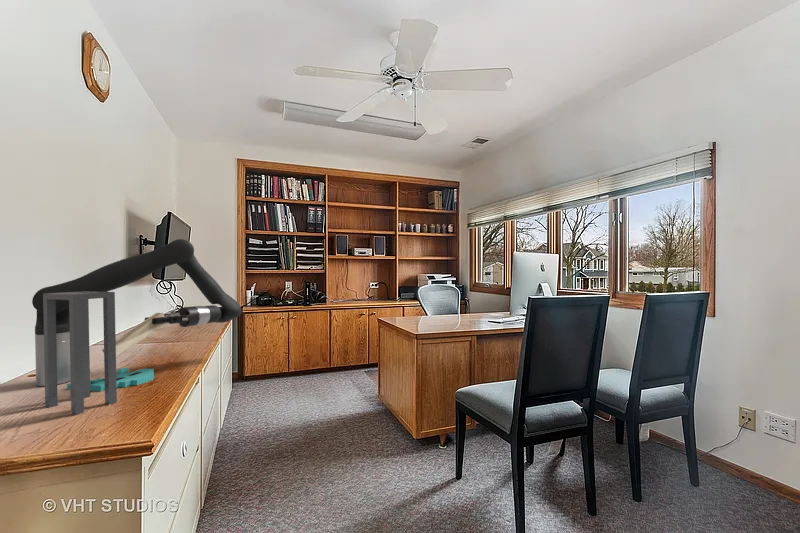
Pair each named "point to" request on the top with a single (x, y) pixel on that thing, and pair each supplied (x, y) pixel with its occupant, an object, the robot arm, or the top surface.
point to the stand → (79, 347)
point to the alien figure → (123, 379)
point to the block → (136, 334)
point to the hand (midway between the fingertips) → (149, 321)
